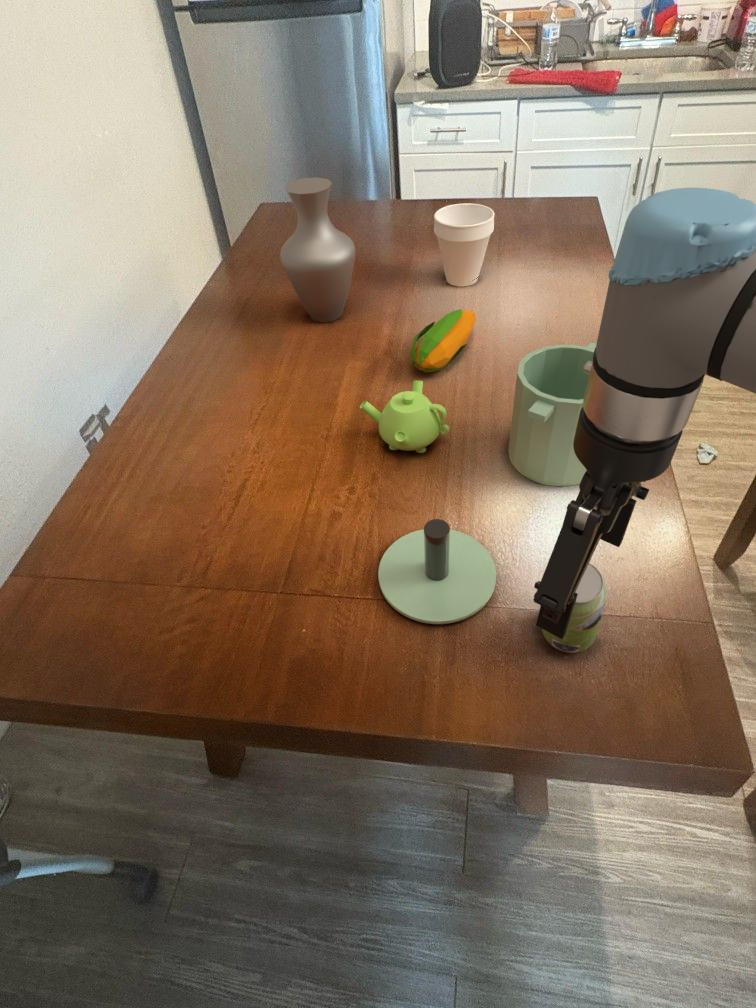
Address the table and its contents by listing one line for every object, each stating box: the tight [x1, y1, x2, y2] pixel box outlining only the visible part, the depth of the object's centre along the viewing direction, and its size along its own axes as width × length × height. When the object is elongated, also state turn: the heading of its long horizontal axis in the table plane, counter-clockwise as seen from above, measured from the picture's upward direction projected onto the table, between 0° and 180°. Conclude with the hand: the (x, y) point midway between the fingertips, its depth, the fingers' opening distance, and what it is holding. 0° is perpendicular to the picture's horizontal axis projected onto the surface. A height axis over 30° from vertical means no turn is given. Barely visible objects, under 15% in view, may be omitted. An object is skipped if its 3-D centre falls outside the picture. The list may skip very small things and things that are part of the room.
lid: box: [377, 518, 497, 625], centre depth 73 cm, size 15×15×9 cm
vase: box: [279, 176, 356, 323], centre depth 116 cm, size 14×14×25 cm
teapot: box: [359, 379, 450, 454], centre depth 92 cm, size 11×12×8 cm
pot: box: [507, 341, 597, 487], centre depth 85 cm, size 14×19×14 cm
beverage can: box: [541, 562, 609, 654], centre depth 64 cm, size 6×7×12 cm
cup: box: [433, 202, 496, 287], centre depth 127 cm, size 12×12×14 cm
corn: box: [409, 308, 477, 373], centre depth 109 cm, size 7×8×20 cm
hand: (580, 582), depth 61 cm, fingers open, 13 cm apart
